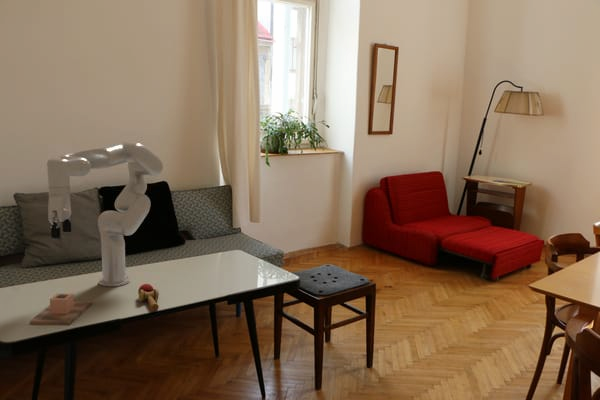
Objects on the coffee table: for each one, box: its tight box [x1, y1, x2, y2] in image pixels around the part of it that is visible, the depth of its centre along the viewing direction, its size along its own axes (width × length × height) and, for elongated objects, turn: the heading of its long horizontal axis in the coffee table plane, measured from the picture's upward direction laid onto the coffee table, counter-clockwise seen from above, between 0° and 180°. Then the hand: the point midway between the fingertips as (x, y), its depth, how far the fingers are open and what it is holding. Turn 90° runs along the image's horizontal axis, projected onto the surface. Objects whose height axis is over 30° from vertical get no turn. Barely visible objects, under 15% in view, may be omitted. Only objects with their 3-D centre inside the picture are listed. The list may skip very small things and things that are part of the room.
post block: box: [29, 293, 93, 326], centre depth 195 cm, size 20×14×7 cm
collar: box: [49, 293, 75, 314], centre depth 195 cm, size 6×6×6 cm
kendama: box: [138, 283, 160, 312], centre depth 207 cm, size 8×6×18 cm
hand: (61, 234), depth 205 cm, fingers open, 9 cm apart
